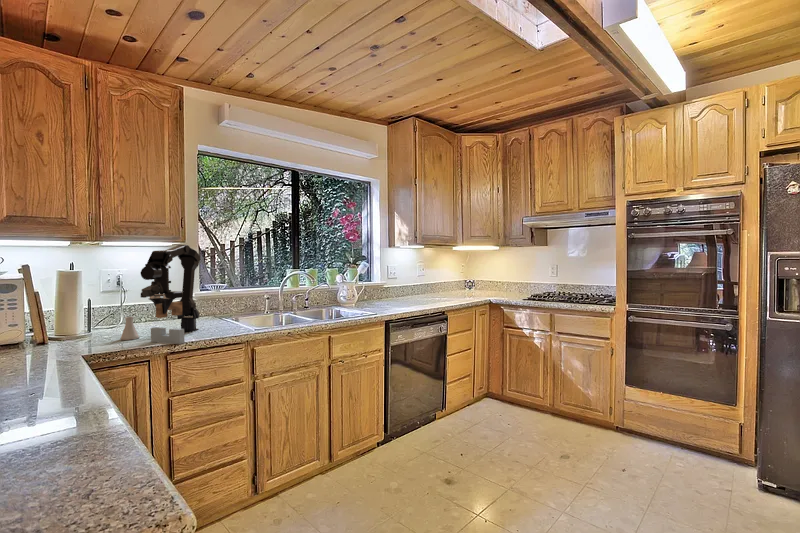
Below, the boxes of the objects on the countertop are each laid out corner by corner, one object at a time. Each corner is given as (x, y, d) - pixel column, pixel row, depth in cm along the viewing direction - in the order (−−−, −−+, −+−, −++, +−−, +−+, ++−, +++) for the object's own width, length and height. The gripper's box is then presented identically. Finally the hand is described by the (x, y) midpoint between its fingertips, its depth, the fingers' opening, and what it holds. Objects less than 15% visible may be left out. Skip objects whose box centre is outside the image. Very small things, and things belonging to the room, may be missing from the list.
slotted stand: (155, 340, 185) (155, 327, 185) (184, 342, 180) (184, 329, 180) (151, 341, 182) (150, 328, 182) (179, 344, 178) (179, 330, 177)
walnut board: (178, 314, 195) (178, 301, 195) (182, 314, 194) (182, 301, 194) (155, 317, 183) (155, 304, 183) (160, 317, 182) (160, 304, 182)
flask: (117, 339, 188) (116, 317, 187) (133, 336, 194) (132, 315, 194) (126, 341, 184) (125, 318, 184) (142, 338, 191) (142, 316, 190)
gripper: (128, 279, 180) (129, 315, 180) (162, 279, 174) (162, 317, 174) (151, 278, 190) (152, 312, 191) (183, 278, 185) (184, 313, 185)
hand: (162, 313), depth 185 cm, fingers closed on walnut board, 2 cm apart
